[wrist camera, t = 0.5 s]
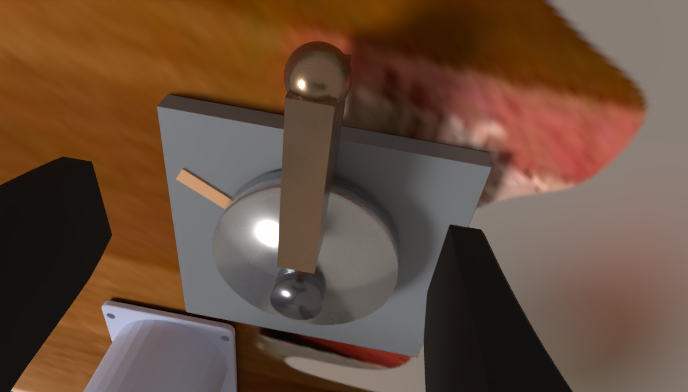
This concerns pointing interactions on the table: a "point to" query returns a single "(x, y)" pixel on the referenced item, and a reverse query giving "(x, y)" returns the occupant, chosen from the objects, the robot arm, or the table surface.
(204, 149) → the stand plate
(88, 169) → the robot arm
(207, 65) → the table surface
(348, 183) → the cam
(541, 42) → the table surface
